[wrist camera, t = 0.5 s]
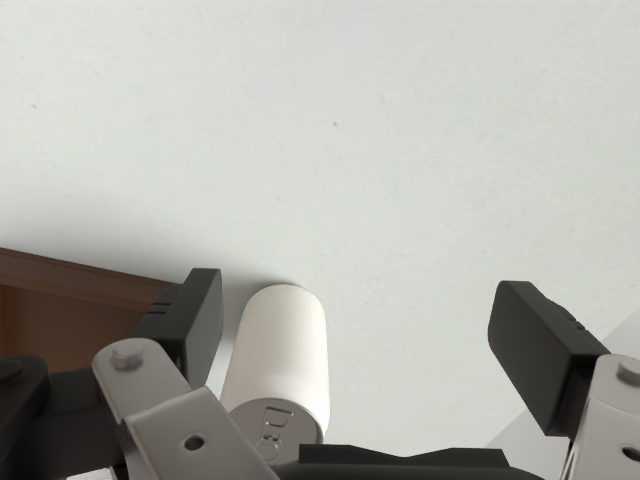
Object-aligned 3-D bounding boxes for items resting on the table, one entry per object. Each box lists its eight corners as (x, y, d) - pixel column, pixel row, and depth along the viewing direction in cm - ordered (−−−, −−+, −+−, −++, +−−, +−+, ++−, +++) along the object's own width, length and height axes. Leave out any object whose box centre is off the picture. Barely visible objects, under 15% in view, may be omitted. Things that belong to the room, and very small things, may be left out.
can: (235, 340, 36) (200, 470, 24) (254, 271, 33) (224, 380, 22) (312, 359, 36) (311, 491, 25) (335, 293, 34) (347, 407, 23)
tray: (-3, 246, 32) (-37, 266, 29) (184, 285, 34) (171, 307, 30) (3, 417, 38) (-24, 448, 35) (161, 443, 40) (148, 475, 37)
